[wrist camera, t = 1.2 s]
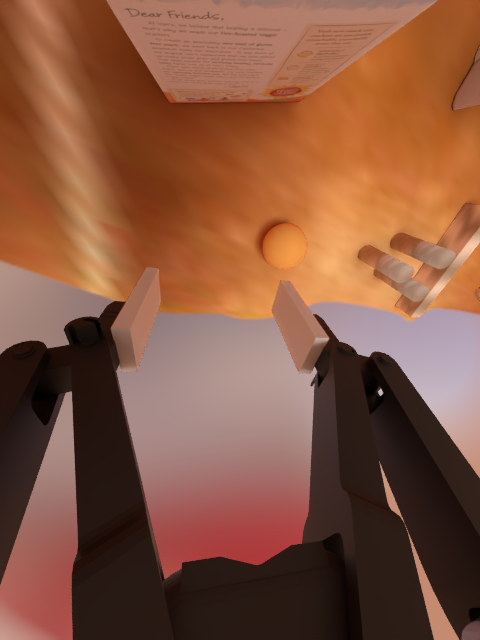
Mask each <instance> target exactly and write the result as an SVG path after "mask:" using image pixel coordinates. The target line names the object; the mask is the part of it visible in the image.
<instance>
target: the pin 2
mask: <svg viewBox="0 0 480 640" xmlns="http://www.w3.org/2000/svg"><path fill="white" fill-rule="evenodd" d="M374 275H375V276H376V277H378V278H379V279H381V280H382V281H384V282H385V283H387V284H388V285H390V286H391V287H393V288H394V289H396V290H397V291H399V292H400V293H402V294H403V295H405V296H406V297H408V298H409V299H411V300H412V301H414V302H418V301H420V300H422V299H424V298H425V297H426V296H427V295H428V293H429V288H428V287H426V286H424V285H422V284H421V283H419V282H417V281H415V280H414V279H412V278H410V279H409V280H407V281H406V282H404V283H397V282H395V281H394V280H392V279H391V278H389V277H387V276H386V275H384V274H383V273H381V272H380V271H378V270H376V269H375V271H374Z"/></svg>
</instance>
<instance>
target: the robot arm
mask: <svg viewBox="0 0 480 640" xmlns="http://www.w3.org/2000/svg"><path fill="white" fill-rule="evenodd" d="M160 304H161V298H160V282H159V268H151V267H146V269H145V271H144V272H143V274H142V276H141V277H140V279H139V281H138V283H137V284H136V286H135V288H134V289H133V291H132V293H131V294H130V296H129V298H128V299H127V301H126V302H120V301H114V302H112V303H111V304H109V305H108V306H107V307H106V308H105V310H104V311H103V313H102V314H101V315H100V317H99V318H97V317H82V318H78V319H75V320H73V321H71V322H69V323H68V324H67V325H66V326H65V328H64V331H65V334H66V336H67V339H68V341H69V344H70V345H66V346H60V347H54V348H48V349H47V347H46V345H45V344H44V343H43V342H40V341H26V342H21V343H18V344H15V345H13V346H11V347H9V348H7V349H6V350H5V351H4V352H3V353H2V354H1V355H0V584H1V581H2V578H3V575H4V572H5V569H6V566H7V563H8V560H9V557H10V555H11V552H12V549H13V546H14V543H15V540H16V537H17V534H18V531H19V528H20V525H21V522H22V519H23V516H24V513H25V510H26V507H27V505H28V502H29V499H30V496H31V493H32V490H33V487H34V484H35V481H36V478H37V475H38V472H39V469H40V466H41V464H42V461H43V458H44V454H45V452H46V449H47V446H48V443H49V440H50V437H51V434H52V431H53V428H54V425H55V422H56V419H57V416H58V414H59V410H60V408H61V405H62V402H63V399H64V396H65V393H66V392H70V391H72V402H73V427H74V451H75V475H76V500H77V524H78V553H77V555H76V558H75V561H74V565H73V572H72V621H73V622H72V623H73V640H434V638H433V635H432V630H431V626H430V622H429V618H428V614H427V609H426V606H425V601H424V597H423V593H422V589H421V585H420V581H419V577H418V572H417V568H416V564H415V560H414V556H413V552H412V548H411V544H410V540H409V536H408V533H407V530H408V532H409V534H410V537H411V539H412V542H413V544H414V547H415V549H416V551H417V554H418V556H419V559H420V561H421V564H422V566H423V568H424V571H425V573H426V575H427V577H428V580H429V582H430V584H431V586H432V589H433V591H434V593H435V595H436V597H437V599H438V601H439V603H440V605H441V607H442V609H443V610H444V613H445V615H446V616H447V618H448V620H449V622H450V624H451V626H452V627H453V629H454V631H455V632H456V634H457V636H458V638H459V640H480V478H479V477H478V475H477V474H476V473H475V471H474V470H473V468H472V467H471V466H470V464H469V463H468V461H467V460H466V459H465V457H464V456H463V455H462V453H461V452H460V450H459V449H458V447H457V446H456V445H455V443H454V442H453V441H452V439H451V438H450V436H449V435H448V434H447V432H446V431H445V429H444V428H443V427H442V426H441V424H440V422H439V421H438V420H437V418H436V417H435V415H434V414H433V413H432V411H431V410H430V408H429V407H428V406H427V404H426V403H425V401H424V400H423V399H422V397H421V396H420V394H419V393H418V392H417V391H416V389H415V387H414V386H413V385H412V383H411V382H410V381H409V379H408V378H407V376H406V375H405V373H404V372H403V371H402V369H401V368H400V366H399V365H398V364H397V362H396V361H395V360H394V359H393V358H391V357H390V356H389V355H386V354H385V353H381V352H373V353H372V354H371V355H370V357H366V356H362V355H358V354H357V352H356V351H355V349H354V348H353V347H351V346H349V345H348V344H346V343H343V342H339V340H338V339H337V338H336V336H335V335H334V334H333V332H332V331H331V330H330V328H329V327H328V326H327V324H326V323H325V321H324V320H323V319H322V318H321V317H319V316H318V315H316V314H312V312H311V311H310V310H309V308H308V307H307V305H306V304H305V302H304V301H303V300H302V298H301V297H300V295H299V294H298V292H297V291H296V289H295V288H294V287H293V285H292V284H291V282H290V281H281V280H280V284H279V287H278V290H277V294H276V297H275V301H274V304H273V307H272V313H273V315H274V317H275V320H276V322H277V324H278V326H279V329H280V331H281V333H282V336H283V338H284V340H285V343H286V345H287V347H288V349H289V352H290V354H291V356H292V359H293V361H294V363H295V365H296V368H297V370H298V372H299V373H311V372H312V370H313V368H314V366H315V368H316V370H317V374H316V375H315V377H314V379H313V381H312V383H311V386H313V384H314V383H315V387H314V409H313V410H314V411H313V431H312V432H313V434H312V455H311V476H310V500H309V512H308V517H307V520H306V523H305V527H304V531H303V541H302V544H297V545H291V546H290V547H288V548H286V549H285V550H283V551H282V552H280V553H278V554H277V555H275V556H274V557H272V558H270V559H269V560H267V561H266V562H264V563H263V564H261V565H253V564H249V563H244V562H240V561H236V560H232V559H228V558H223V557H216V558H209V559H202V560H196V561H190V562H184V563H182V569H180V570H179V571H177V572H175V573H173V574H172V575H170V576H169V577H168V578H166V579H164V574H163V570H162V566H161V561H160V557H159V553H158V549H157V545H156V541H155V537H154V533H153V528H152V524H151V520H150V515H149V512H148V507H147V502H146V498H145V494H144V490H143V485H142V481H141V477H140V472H139V468H138V463H137V459H136V455H135V451H134V446H133V442H132V438H131V433H130V429H129V425H128V421H127V416H126V412H125V408H124V404H123V399H122V394H121V390H120V386H119V381H118V377H117V373H116V370H117V368H118V366H119V365H120V369H121V371H134V372H136V371H138V369H139V366H140V363H141V360H142V357H143V354H144V351H145V348H146V345H147V342H148V339H149V336H150V333H151V330H152V327H153V324H154V321H155V318H156V315H157V312H158V309H159V307H160ZM380 388H381V389H382V391H383V395H381V396H380V395H379V394H378V391H379V390H380ZM379 461H380V463H379ZM380 464H381V466H382V469H383V471H384V473H385V476H386V478H387V481H388V483H389V486H390V488H391V490H392V493H393V495H394V498H395V500H396V503H397V505H398V508H399V510H400V512H401V515H402V517H403V520H404V522H405V524H404V522H403V521H402V519H401V517H400V516H399V515H397V514H396V513H395V512H393V511H392V510H391V509H390V507H389V505H388V503H387V498H386V493H385V488H384V483H383V478H382V474H381V468H380ZM405 525H406V527H407V529H406V527H405Z"/></svg>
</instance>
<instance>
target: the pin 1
mask: <svg viewBox="0 0 480 640" xmlns="http://www.w3.org/2000/svg"><path fill="white" fill-rule="evenodd" d="M390 246H391V247H392V248H393V249H396V250H398V251H400V252H402V253H404V254H407V255H409V256H411V257H413V258H415V259H418V260H420V261H422V262H424V263H426V264H428V265H431V266H433V267H435V268H437V269H443V268H446V267H447V266H449V265H450V264H451V263H452V262H453V261H454V259H455V257H456V253H455V252H454V251H452V250H449V249H446V248H443V247H440V246H438V245H435V244H432V243H429V242H426V241H423V240H421V239H418V238H415V237H412V236H409V235H407V234H404V233H399V234H397V235H395V236H394V237H393V238H392V240H391V242H390Z"/></svg>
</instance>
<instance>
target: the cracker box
mask: <svg viewBox="0 0 480 640" xmlns="http://www.w3.org/2000/svg"><path fill="white" fill-rule="evenodd" d="M106 1H107V3H108V5H109V6H110V8H111V9H112V11H113V13H114V14H115V16H116V18H117V19H118V21H119V22H120V24H121V26H122V27H123V29H124V30H125V32H126V34H127V35H128V37H129V38H130V40H131V42H132V43H133V45H134V47H135V48H136V50H137V51H138V53H139V54H140V56H141V58H142V59H143V61H144V62H145V64H146V66H147V67H148V69H149V71H150V72H151V74H152V75H153V77H154V78H155V80H156V82H157V83H158V85H159V86H160V88H161V89H162V91H163V93H164V94H165V96H166V98H167V99H168V100H169V102H170V103H221V102H297V101H298V102H299V101H301V100H302V99H304V98H305V97H306V96H308V95H309V94H311V93H312V92H314V91H315V90H316V89H318V88H319V87H320V86H322V85H323V84H325V83H326V82H327V81H329V80H330V79H331V78H333V77H334V76H335V75H337V74H338V73H340V72H341V71H342V70H344V69H345V68H346V67H348V66H349V65H350V64H352V63H353V62H355V61H356V60H357V59H359V58H360V57H361V56H363V55H364V54H366V53H367V52H368V51H370V50H371V49H372V48H374V47H375V46H377V45H378V44H379V43H381V42H382V41H383V40H385V39H386V38H388V37H389V36H390V35H392V34H393V33H394V32H396V31H397V30H399V29H400V28H401V27H403V26H404V25H405V24H407V23H408V22H410V21H411V20H412V19H414V18H415V17H416V16H418V15H419V14H420V13H422V12H423V11H425V10H426V9H427V8H429V7H430V6H431V5H433V4H434V3H435V2H437V1H438V0H106Z"/></svg>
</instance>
